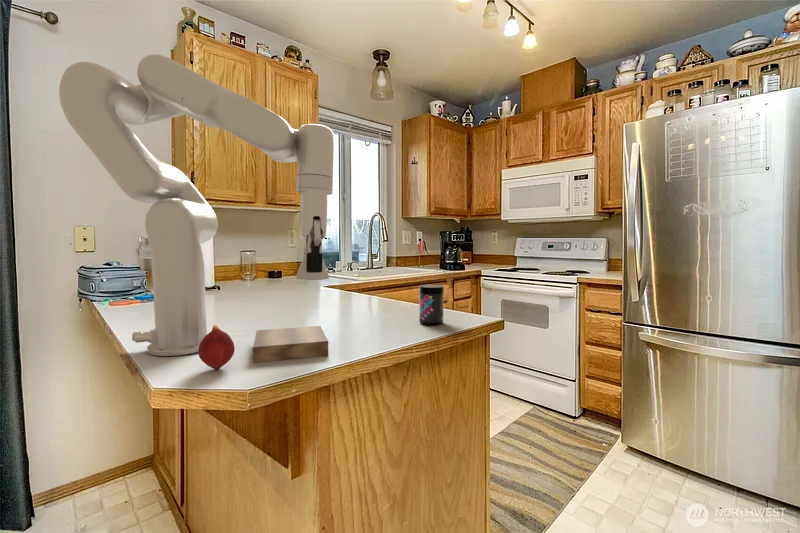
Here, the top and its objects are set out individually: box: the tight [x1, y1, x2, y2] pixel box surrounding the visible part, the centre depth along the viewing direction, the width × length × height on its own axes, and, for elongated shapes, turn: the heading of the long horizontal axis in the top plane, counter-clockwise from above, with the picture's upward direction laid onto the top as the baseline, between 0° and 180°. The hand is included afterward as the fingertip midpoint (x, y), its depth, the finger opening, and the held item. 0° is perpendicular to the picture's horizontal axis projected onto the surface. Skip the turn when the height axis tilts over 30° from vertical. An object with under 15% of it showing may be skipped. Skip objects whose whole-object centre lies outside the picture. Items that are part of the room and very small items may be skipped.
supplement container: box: [418, 284, 445, 327], centre depth 106 cm, size 7×7×10 cm
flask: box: [295, 235, 330, 281], centre depth 83 cm, size 7×7×10 cm
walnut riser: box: [252, 325, 329, 364], centre depth 82 cm, size 14×14×3 cm
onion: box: [197, 324, 236, 371], centre depth 69 cm, size 6×6×8 cm
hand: (312, 270), depth 83 cm, fingers closed on flask, 4 cm apart
